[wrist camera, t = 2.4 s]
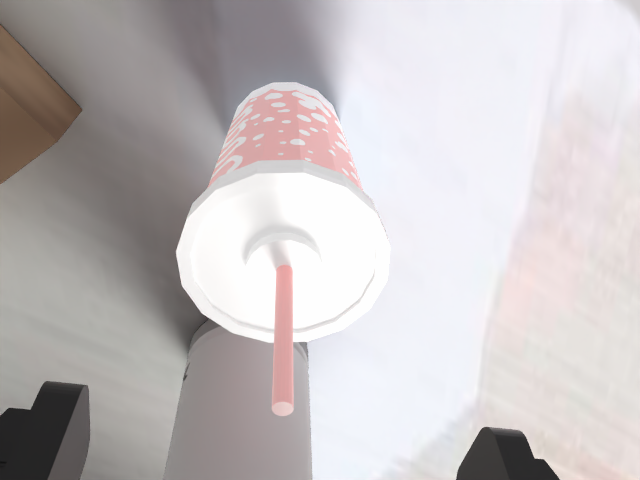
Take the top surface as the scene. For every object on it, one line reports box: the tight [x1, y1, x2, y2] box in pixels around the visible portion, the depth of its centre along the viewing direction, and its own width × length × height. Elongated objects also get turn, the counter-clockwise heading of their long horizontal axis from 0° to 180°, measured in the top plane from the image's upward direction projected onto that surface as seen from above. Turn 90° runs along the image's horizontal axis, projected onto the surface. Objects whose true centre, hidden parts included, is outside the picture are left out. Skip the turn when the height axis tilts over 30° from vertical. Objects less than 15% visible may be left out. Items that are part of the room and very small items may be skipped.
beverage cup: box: [176, 82, 390, 416], centre depth 18 cm, size 6×6×14 cm
